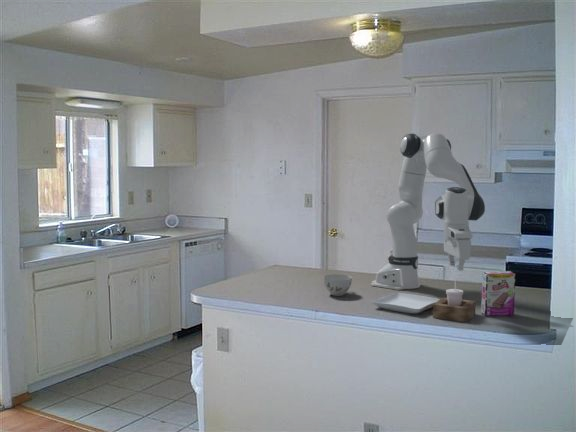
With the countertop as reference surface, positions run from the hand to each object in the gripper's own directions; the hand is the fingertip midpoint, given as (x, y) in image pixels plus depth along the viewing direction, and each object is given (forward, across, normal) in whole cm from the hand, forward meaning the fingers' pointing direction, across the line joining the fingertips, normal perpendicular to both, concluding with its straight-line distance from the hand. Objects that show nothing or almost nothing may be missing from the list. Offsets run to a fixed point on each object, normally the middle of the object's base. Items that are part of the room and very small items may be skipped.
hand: (456, 267), depth 227 cm
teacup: (+18, -40, -39) cm, 59 cm away
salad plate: (+19, -15, -15) cm, 28 cm away
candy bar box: (+19, 0, +16) cm, 25 cm away
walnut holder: (+18, 0, -1) cm, 18 cm away
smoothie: (+19, 0, -1) cm, 19 cm away
